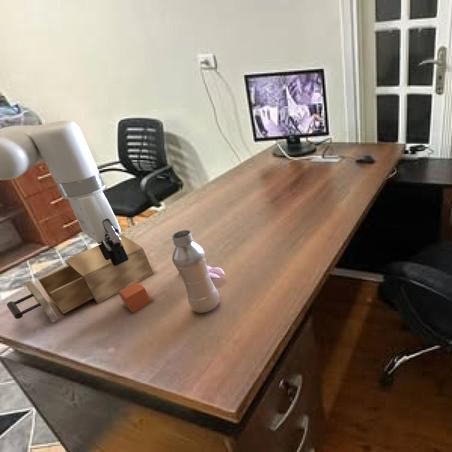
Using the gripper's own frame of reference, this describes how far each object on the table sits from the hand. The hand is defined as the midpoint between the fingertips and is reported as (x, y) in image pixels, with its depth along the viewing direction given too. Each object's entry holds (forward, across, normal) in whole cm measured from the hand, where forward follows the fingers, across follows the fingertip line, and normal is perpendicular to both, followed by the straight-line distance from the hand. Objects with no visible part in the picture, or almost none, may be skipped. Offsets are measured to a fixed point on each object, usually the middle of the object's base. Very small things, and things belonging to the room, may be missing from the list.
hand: (116, 259), depth 79 cm
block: (+13, 0, 0) cm, 13 cm away
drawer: (+12, -15, -11) cm, 23 cm away
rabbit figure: (+13, +6, +15) cm, 21 cm away
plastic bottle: (+13, +16, +9) cm, 23 cm away
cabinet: (+13, -16, +1) cm, 20 cm away
